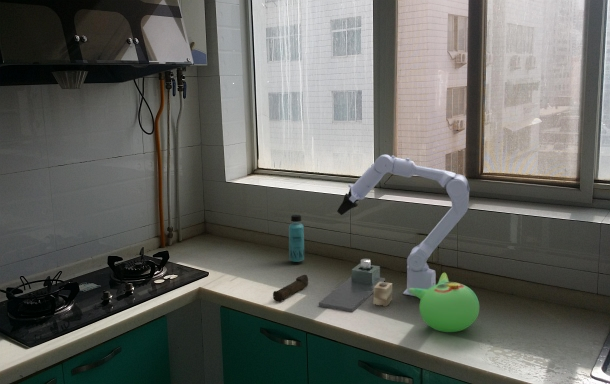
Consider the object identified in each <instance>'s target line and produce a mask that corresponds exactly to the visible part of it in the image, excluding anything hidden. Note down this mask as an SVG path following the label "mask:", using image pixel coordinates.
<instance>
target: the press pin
mask: <svg viewBox="0 0 610 384" xmlns="http://www.w3.org/2000/svg"><path fill="white" fill-rule="evenodd" d="M371 261H372V260H371V259H370V258H362V259H360V264H361V270H367V271H370V270H371V264H372V263H371Z"/></svg>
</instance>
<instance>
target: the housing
mask: <svg viewBox="0 0 610 384" xmlns="http://www.w3.org/2000/svg"><path fill="white" fill-rule="evenodd" d="M391 300H392V301H393V283H392V282H387V281H385V282H379V283H378V284H377V285H376V286H374V292H373V305H375V304H376V306H380V305H383V306H382V307H387V306H388V305H389V304H390V303H391V302H392V301H391ZM390 301H391V302H390Z"/></svg>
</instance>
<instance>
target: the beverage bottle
mask: <svg viewBox="0 0 610 384" xmlns="http://www.w3.org/2000/svg"><path fill="white" fill-rule="evenodd" d="M290 218H291V219H290V221H291V223H290V224H289V225H288V259H289V261H291V262H295V263H297V262H302V261H304V260H305V230H304V229H305V228H304V227H305V225H304V224H302V222H301V221H302V216H301V214H292V215H291V217H290Z"/></svg>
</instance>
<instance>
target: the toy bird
mask: <svg viewBox="0 0 610 384" xmlns="http://www.w3.org/2000/svg"><path fill="white" fill-rule="evenodd" d="M408 291H409V292H410V293H412V294H413V295H415V296H414V297H416V298H418V299H420V300H419V313H420V316H421V318H422V320H423V321H424V322H425V323H426V325H427V326H429V327H430V328H432V329H434V330H436V331H439V332H442V333H455V332H457V333H458V332H461V331H463V330H466V329H467V328H469V327H470V326H471V325H473V324H474V322H475V321H476V319H477V318H478V316H479V313H480V302H479V299H478V296H477V295H476V293H475V292H474V290H472V289H471V288H470V287H468V286H467V285H465V284H462V283H459V282H454V281H449V278H448V275H447V273H446V272H443V273H441V275H440V277H439V279H438V282H437V283H436V284H435V285H434V286H432V287H430V288H429V289H421V288H409V289H408Z"/></svg>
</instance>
